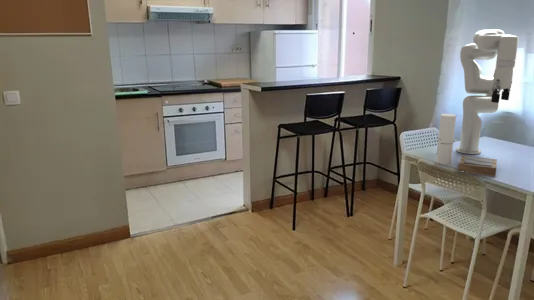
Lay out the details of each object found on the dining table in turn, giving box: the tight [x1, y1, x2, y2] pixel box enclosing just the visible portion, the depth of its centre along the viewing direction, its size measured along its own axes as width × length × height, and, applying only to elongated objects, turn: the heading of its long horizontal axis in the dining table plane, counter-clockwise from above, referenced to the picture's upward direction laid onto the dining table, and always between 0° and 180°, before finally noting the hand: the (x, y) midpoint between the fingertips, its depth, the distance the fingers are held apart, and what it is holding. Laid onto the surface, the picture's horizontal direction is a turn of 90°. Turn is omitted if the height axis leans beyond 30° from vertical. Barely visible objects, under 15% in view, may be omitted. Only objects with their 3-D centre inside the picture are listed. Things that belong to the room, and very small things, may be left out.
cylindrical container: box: [435, 113, 457, 165], centre depth 213 cm, size 7×7×25 cm
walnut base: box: [457, 155, 498, 177], centre depth 204 cm, size 16×16×4 cm
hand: (499, 101), depth 194 cm, fingers open, 9 cm apart
